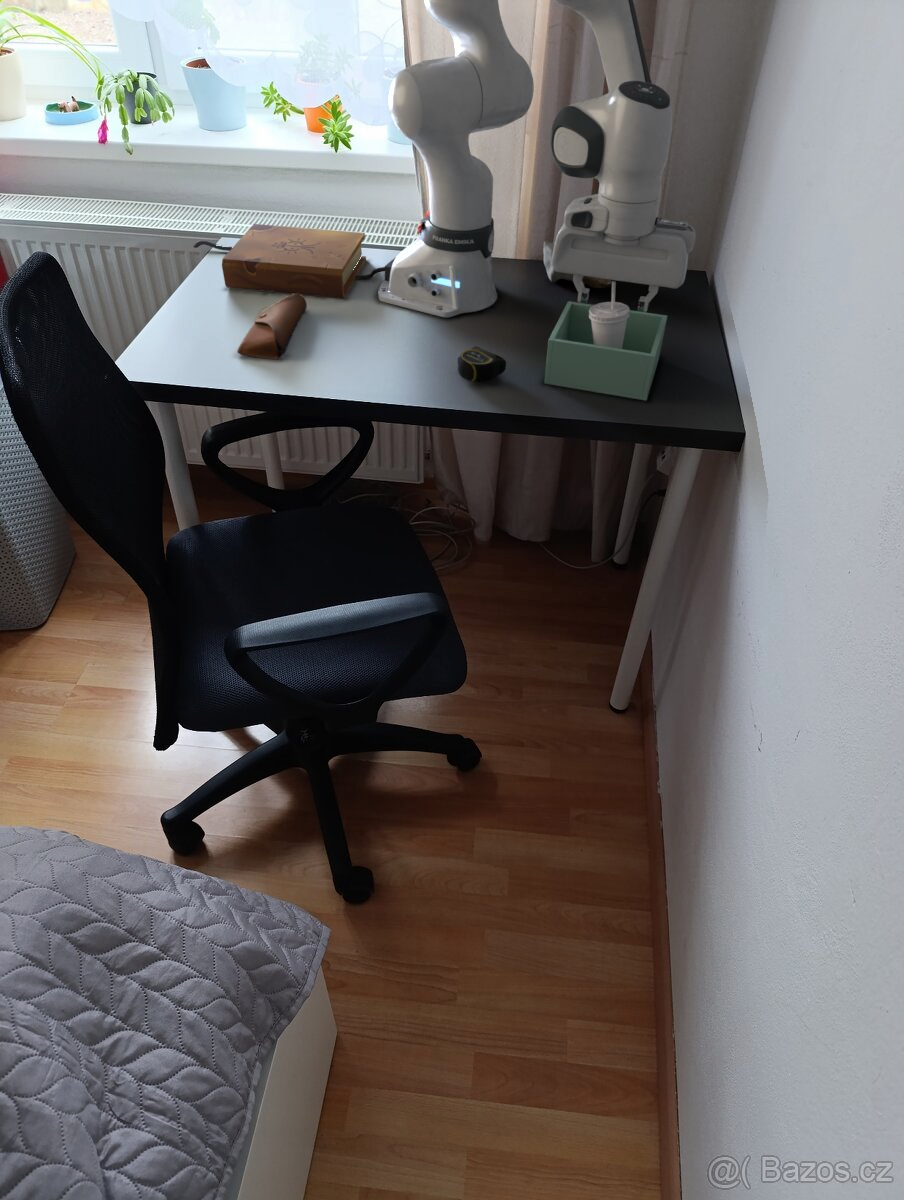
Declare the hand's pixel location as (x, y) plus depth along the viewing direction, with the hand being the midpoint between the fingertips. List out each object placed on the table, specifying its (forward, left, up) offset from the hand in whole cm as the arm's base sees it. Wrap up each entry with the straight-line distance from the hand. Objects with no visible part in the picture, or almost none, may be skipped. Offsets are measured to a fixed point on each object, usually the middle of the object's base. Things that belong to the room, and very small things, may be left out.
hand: (612, 305), depth 130 cm
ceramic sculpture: (-11, +33, -11) cm, 37 cm away
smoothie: (+1, 0, -10) cm, 11 cm away
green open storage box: (0, 0, -11) cm, 11 cm away
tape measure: (-19, -8, -11) cm, 24 cm away
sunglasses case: (-57, -6, -11) cm, 59 cm away
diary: (-64, +18, -11) cm, 67 cm away
